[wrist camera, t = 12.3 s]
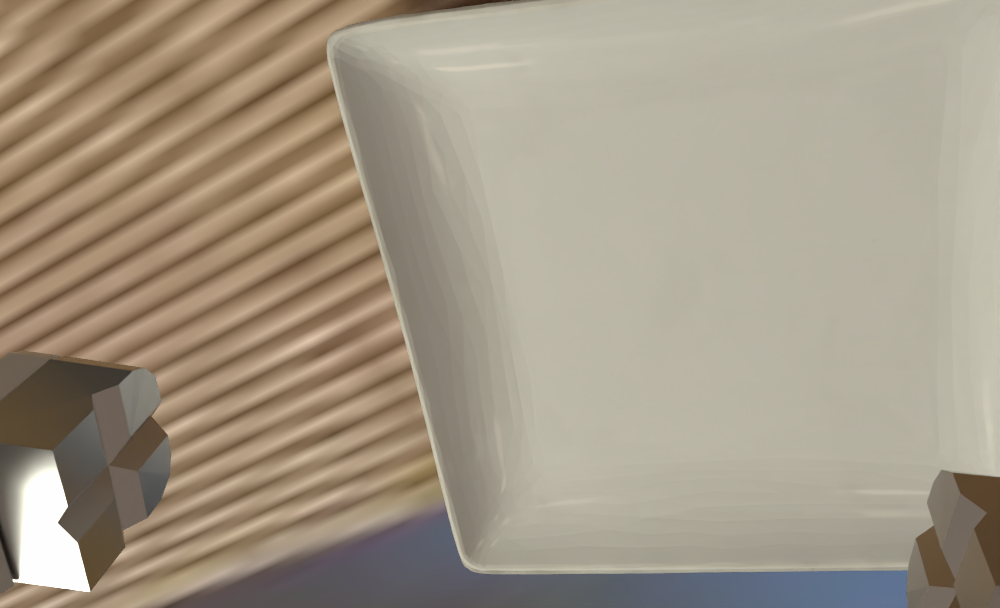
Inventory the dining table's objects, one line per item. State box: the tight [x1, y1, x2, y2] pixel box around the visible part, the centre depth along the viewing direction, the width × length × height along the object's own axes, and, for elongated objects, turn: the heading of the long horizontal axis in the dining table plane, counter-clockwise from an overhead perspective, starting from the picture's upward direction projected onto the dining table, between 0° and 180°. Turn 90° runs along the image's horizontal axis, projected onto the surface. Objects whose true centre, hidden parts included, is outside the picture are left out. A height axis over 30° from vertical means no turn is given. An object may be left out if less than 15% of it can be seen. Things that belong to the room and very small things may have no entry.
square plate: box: [327, 0, 1000, 574], centre depth 39 cm, size 27×27×4 cm
